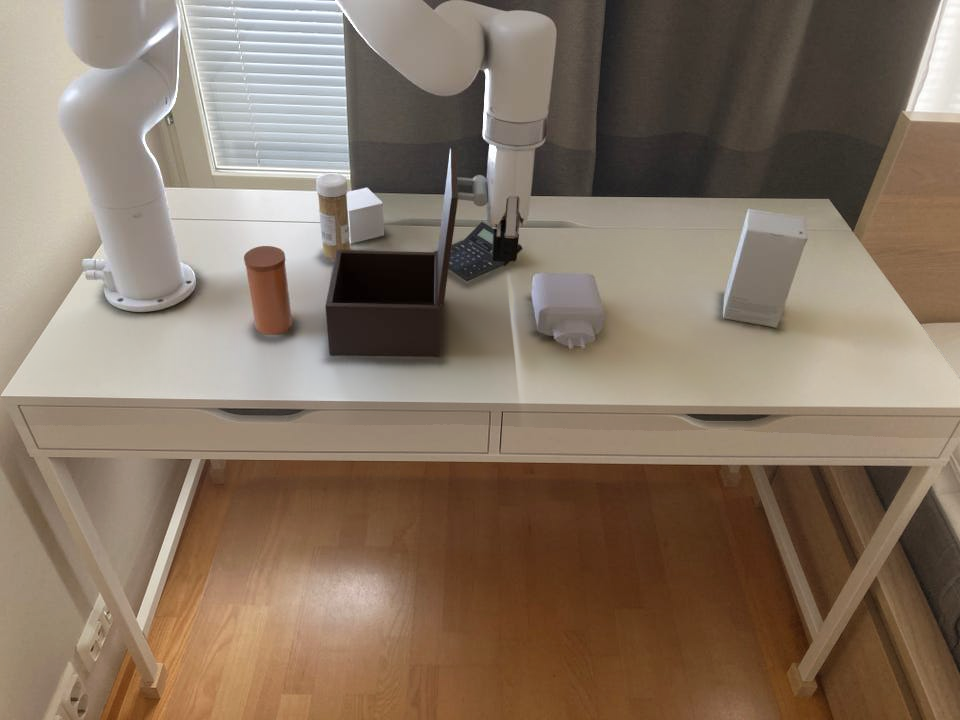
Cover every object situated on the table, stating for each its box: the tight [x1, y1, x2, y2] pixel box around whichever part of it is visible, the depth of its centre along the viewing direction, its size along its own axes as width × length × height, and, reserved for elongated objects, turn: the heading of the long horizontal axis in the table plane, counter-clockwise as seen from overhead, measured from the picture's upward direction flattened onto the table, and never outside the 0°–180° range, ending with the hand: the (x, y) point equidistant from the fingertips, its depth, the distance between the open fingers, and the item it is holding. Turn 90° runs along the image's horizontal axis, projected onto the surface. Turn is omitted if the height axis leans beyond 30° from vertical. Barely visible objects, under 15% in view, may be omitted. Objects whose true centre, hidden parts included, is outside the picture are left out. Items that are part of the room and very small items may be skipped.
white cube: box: [346, 187, 385, 245], centre depth 131 cm, size 6×6×6 cm
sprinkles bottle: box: [315, 172, 351, 260], centre depth 122 cm, size 5×5×14 cm
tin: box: [243, 245, 293, 336], centre depth 108 cm, size 5×5×12 cm
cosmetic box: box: [722, 208, 809, 329], centre depth 115 cm, size 8×7×16 cm
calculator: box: [434, 221, 523, 282], centre depth 127 cm, size 9×12×3 cm
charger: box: [530, 272, 606, 350], centre depth 113 cm, size 5×9×15 cm
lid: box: [437, 146, 488, 307], centre depth 102 cm, size 15×14×5 cm
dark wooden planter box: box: [325, 249, 441, 358], centre depth 110 cm, size 15×14×9 cm
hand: (504, 258), depth 105 cm, fingers closed
